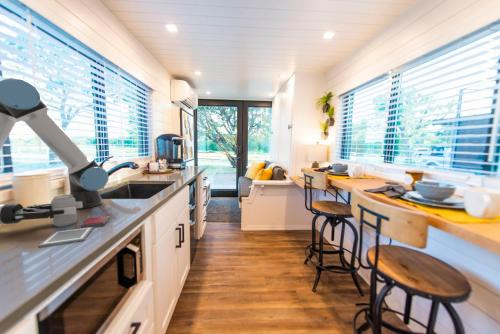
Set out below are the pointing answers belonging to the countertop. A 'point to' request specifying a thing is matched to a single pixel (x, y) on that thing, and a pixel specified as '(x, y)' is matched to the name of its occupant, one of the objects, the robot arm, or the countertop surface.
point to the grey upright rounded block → (64, 202)
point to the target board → (67, 236)
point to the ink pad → (95, 222)
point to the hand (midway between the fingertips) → (78, 207)
